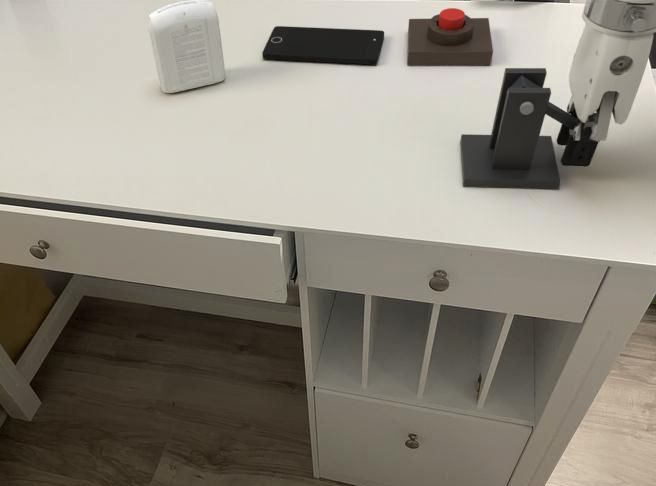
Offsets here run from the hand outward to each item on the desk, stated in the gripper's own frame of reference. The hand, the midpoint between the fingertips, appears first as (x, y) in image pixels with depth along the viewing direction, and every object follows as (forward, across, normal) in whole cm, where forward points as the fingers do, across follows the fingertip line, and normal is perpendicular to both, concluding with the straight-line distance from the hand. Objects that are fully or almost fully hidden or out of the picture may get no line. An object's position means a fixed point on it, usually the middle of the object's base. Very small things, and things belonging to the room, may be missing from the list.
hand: (572, 153), depth 80 cm
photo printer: (+3, +18, +52) cm, 55 cm away
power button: (-1, +28, +14) cm, 31 cm away
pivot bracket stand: (+2, 0, +7) cm, 7 cm away
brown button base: (+2, +28, +14) cm, 31 cm away
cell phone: (+3, +28, +33) cm, 43 cm away
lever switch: (-4, 0, +4) cm, 6 cm away
